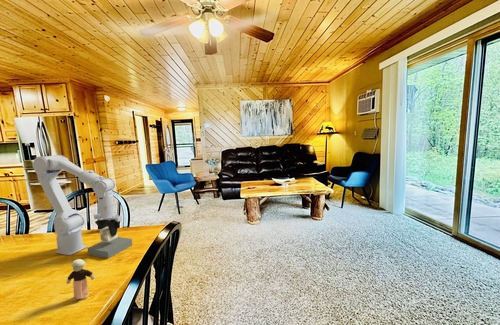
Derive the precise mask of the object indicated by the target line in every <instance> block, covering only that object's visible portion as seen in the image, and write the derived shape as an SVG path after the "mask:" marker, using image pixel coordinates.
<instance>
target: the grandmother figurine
mask: <svg viewBox="0 0 500 325" xmlns="http://www.w3.org/2000/svg"><path fill="white" fill-rule="evenodd" d="M86 264H87V262H86V261H85V260H83V259H81V258H77V259H75V260H74V261H72V262H71V267H72V272H71V273H69V275H68V277H67V280H66V282H65V283H66V285H69V284H71V281H72V280H73V281H72V285H73V297H72V298H71V299H70V301H71V302H76V301H78V300H81V301H83V300H86V299H88V298H89V295H90V293H89V284H88V280H87V277H88V278H90V279H91V281H93V280H95V278H96V277H95V276H94V273H93V271H90V270H88V269H84V266H85V265H86Z"/></svg>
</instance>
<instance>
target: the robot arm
mask: <svg viewBox="0 0 500 325" xmlns="http://www.w3.org/2000/svg"><path fill="white" fill-rule="evenodd" d="M31 166H32V169H33V170H34V171H35V174H36V175H37V180H38V182H39V184H40V186H41V188H42V189H43V191H44V193H45V195H46V197H47V199H48V201H49V202H50V205H51V206H52V208H53V211H54V213H55V214H56V215H55V216H54V218H53V219H52V224H53V229H54V232H55V233H56V234H57V235H56V239H55V240H56V246H57V247H56V248H57V250H56V251H55V254H61V255H65V256H72V255H73V254H76V253H78V252H80V251H82V250H84V249H87V248H89V245H86V244H84V242H83V234H82V229H83V225H84V224H85V217H84V216H83V215H82V214H81V213H80V212H79V210H77V209H73V208H72V206H71V204H70V203H69V200H68V199H67V197H66V195H65V193H64V190H63V189H62V187H61V186H60V183H59V182H58V180H57V177H58V175H59V174H60V173H61V172H62V171H65V172H67V173H69V174H71V175H74V176H76V177H78V179H79V181H80V182H81V183H83V184H85V185H87V186H88V187H90V188H92V190H93V192H94V193H95V196H96V198H97V204H98V206H97V207H98V213H95V214H93V219H94V220H96V219H97V220H96V221H94V222H95V224H96V225H97V227H98V228H99V231H100V230H101V229H103V228H105V227H109V230H110V235H111V237H113V236H115V235H116V234H117V235H118V229H119V225H120V223H121V222H122V221H123V216H122V215H119V214H118V213H116V211H115V210H116V209H115V202H114V193H113V190H114V189H115V185H116V182H115V181H114V180H113V179H112V178H111V177H104V176H102V175H99V174H98V173H95V171H94V170H89V169H88V170H84V169H83V168H82V167H81V166H78V165H76V164H75V163H73V162H71V161H70V160H69V158H68V157H65V156H64V155H62V154H56V155H47V156H44V155H43V156H42V155H41V156H37V157H36V158H34V160H33V162H32V165H31ZM109 220H111V221H109Z"/></svg>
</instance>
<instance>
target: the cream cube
mask: <svg viewBox="0 0 500 325" xmlns="http://www.w3.org/2000/svg"><path fill="white" fill-rule="evenodd" d="M99 234H100V242H101V241H107V242H109V241H111V240H113V239H115V238H117V237H119V236H118V235H119V234H118V233H117V234H116V235H115V236H113V237H111V235H110V230H109V227H105V228H103V229H101V230H100V229H99Z"/></svg>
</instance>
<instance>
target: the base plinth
mask: <svg viewBox="0 0 500 325" xmlns="http://www.w3.org/2000/svg"><path fill="white" fill-rule="evenodd" d="M131 246H133V239H132V238H129V237H128V238H127V237H124V236H123V237H122V236H118V237H117V238H115V239H113V240H111V241H109V242H107V241H101V240H100V241H99V242H98V243H95V244H93V245H91V246H88V247H87V255H89V256H93V257H99V258H104V259H111V258H112V257H114V256H116V255H117V254H119V253H121V252H122V251H124V250H126V249H128V248H130V247H131Z"/></svg>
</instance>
